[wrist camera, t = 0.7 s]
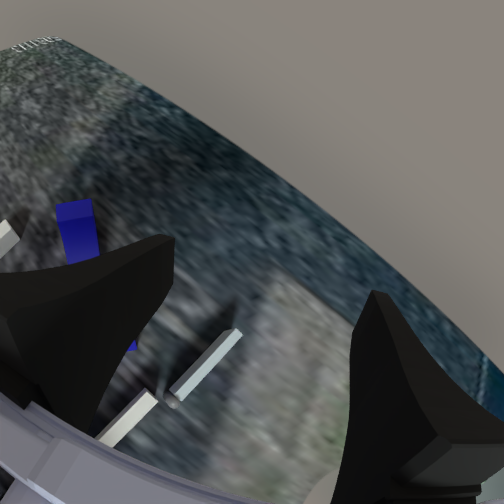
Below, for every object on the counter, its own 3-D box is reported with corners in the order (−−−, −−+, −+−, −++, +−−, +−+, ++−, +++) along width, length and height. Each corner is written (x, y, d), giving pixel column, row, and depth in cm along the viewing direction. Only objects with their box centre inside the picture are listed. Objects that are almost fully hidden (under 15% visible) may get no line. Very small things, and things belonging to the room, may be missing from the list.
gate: (160, 396, 26) (165, 403, 22) (223, 330, 30) (236, 327, 26) (168, 402, 26) (174, 410, 22) (229, 337, 30) (244, 335, 26)
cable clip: (136, 349, 27) (138, 349, 21) (89, 358, 25) (79, 361, 19) (110, 223, 29) (109, 195, 24) (66, 231, 27) (55, 204, 22)
